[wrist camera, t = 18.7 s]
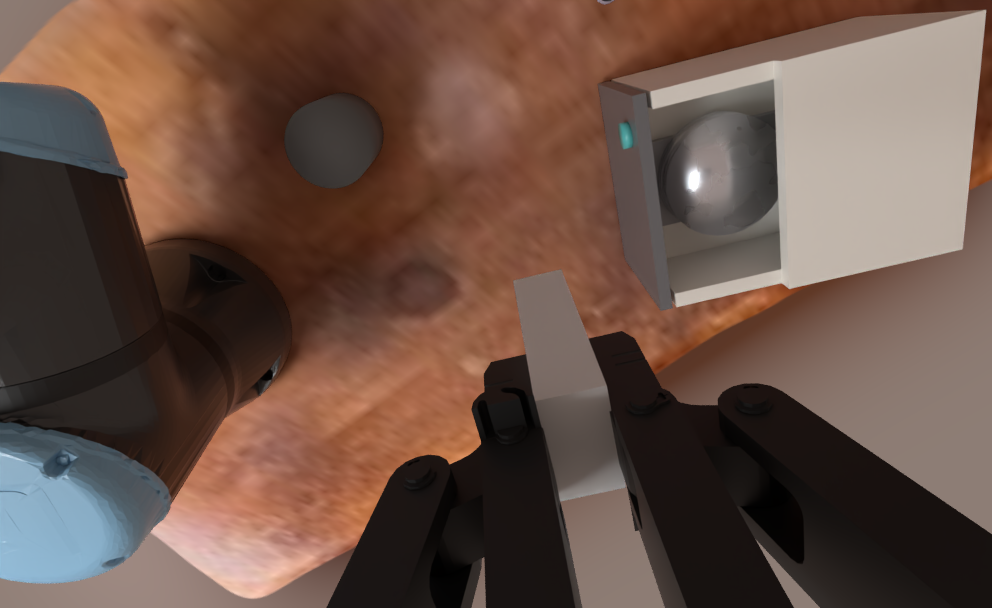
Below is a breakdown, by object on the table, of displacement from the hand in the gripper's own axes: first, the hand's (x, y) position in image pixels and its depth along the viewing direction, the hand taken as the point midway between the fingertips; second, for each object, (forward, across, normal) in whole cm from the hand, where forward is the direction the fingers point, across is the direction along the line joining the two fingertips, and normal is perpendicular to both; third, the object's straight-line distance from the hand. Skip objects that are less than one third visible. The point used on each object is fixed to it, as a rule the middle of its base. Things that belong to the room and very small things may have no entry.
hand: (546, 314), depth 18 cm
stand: (+29, -11, +4) cm, 32 cm away
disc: (+24, +14, -4) cm, 28 cm away
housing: (+29, +18, -4) cm, 35 cm away
